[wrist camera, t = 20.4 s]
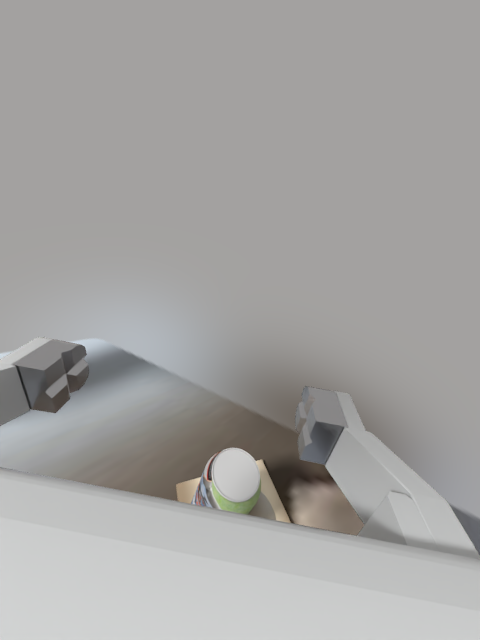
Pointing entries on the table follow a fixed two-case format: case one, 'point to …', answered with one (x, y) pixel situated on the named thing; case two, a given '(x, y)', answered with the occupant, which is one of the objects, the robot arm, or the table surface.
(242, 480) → the beverage can
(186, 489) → the birch mat
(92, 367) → the table surface
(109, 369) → the table surface
